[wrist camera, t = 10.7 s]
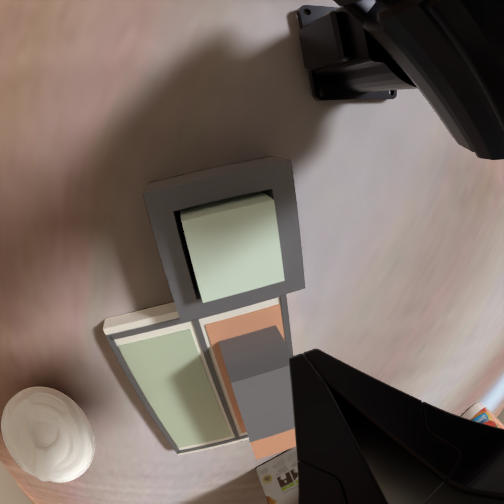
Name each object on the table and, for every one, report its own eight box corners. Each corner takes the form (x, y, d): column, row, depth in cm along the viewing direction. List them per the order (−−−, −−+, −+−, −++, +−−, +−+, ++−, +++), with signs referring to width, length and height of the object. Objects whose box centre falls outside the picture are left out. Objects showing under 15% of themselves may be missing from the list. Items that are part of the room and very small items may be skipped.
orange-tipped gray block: (275, 325, 21) (297, 362, 17) (287, 410, 25) (303, 443, 21) (218, 341, 20) (230, 382, 16) (243, 423, 24) (256, 459, 21)
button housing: (272, 156, 18) (291, 161, 15) (287, 267, 21) (305, 288, 18) (146, 183, 16) (142, 193, 14) (178, 296, 19) (181, 322, 17)
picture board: (277, 274, 21) (284, 283, 20) (294, 413, 27) (299, 423, 26) (105, 318, 19) (102, 330, 18) (177, 445, 25) (179, 456, 24)
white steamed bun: (103, 387, 21) (96, 468, 14) (94, 435, 22) (90, 504, 16) (13, 356, 18) (-17, 428, 11) (17, 410, 19) (0, 474, 12)
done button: (259, 190, 17) (273, 199, 15) (270, 262, 19) (284, 280, 16) (179, 208, 16) (181, 221, 14) (197, 281, 18) (202, 303, 16)
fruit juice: (459, 429, 51) (520, 501, 26) (443, 434, 47) (510, 516, 22) (484, 399, 48) (552, 470, 23) (471, 401, 45) (546, 482, 20)
